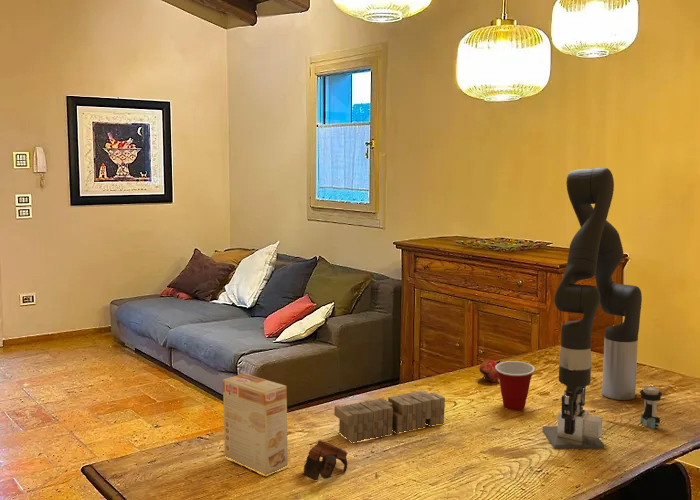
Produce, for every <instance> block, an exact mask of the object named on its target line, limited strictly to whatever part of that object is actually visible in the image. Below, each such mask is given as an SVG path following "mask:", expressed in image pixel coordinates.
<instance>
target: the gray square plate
mask: <svg viewBox="0 0 700 500" xmlns="http://www.w3.org/2000/svg"><path fill="white" fill-rule="evenodd" d="M573 407H575V406H573ZM567 414H570V412H569V411H567ZM575 415H576V416H580V404H579V407H578V411H576V413H575ZM557 430H558V425H556V426H554V425H553V426H552V425H551V426H549V425H548V426H546V425H545V426H543V425H542V431H543V433H544V435H545V436H546V438H547V439H548V441H549V442H550V444H551V446H552V447H553V449H574V450H576V449H577V450H579V449H580V450H581V449H583V450H584V449H585V450H587V449H589V450H601V449H602V450H604V449H605V444H604V443H603V441H602V440H601V439H600V437H599V438H594V437H589V436H585V438H584V439H583V441H578V440H573V439H568V438H562V437H557Z"/></svg>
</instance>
